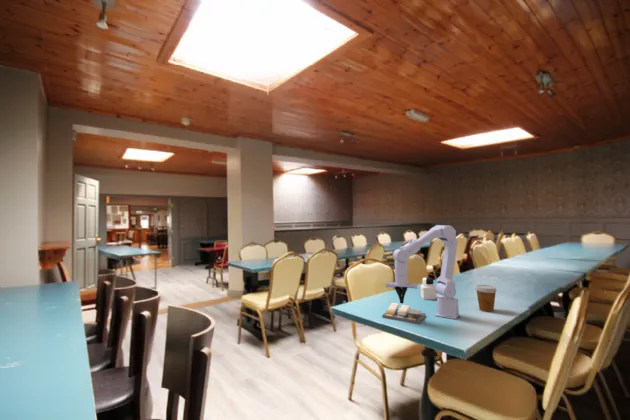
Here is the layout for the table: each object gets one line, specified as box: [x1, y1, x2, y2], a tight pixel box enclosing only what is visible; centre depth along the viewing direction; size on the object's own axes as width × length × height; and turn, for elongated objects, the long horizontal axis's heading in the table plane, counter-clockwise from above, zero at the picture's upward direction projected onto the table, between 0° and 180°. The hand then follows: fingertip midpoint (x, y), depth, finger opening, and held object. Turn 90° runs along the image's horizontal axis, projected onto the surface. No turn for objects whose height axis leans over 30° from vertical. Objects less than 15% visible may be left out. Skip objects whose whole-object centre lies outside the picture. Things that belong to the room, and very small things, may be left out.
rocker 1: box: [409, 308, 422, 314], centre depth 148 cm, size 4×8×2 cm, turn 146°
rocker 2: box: [397, 304, 411, 316], centre depth 151 cm, size 4×8×2 cm, turn 146°
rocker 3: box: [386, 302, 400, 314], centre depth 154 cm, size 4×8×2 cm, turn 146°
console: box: [381, 308, 426, 325], centre depth 151 cm, size 17×13×2 cm
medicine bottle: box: [420, 276, 437, 301], centre depth 184 cm, size 7×7×12 cm
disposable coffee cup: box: [475, 284, 497, 313], centre depth 159 cm, size 10×10×12 cm
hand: (401, 302), depth 148 cm, fingers closed
